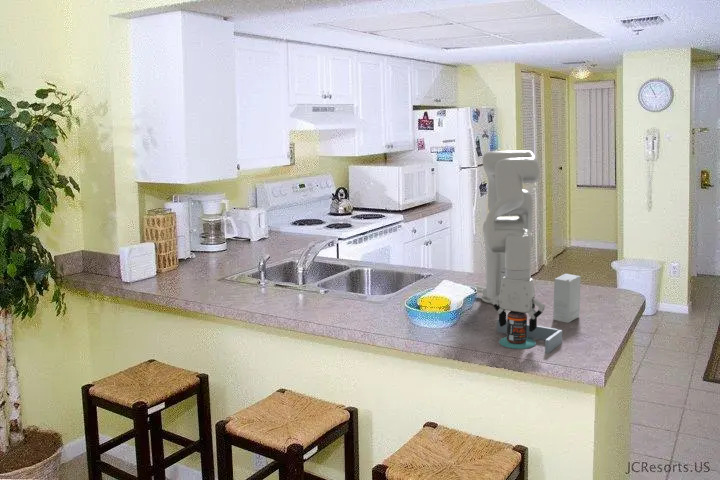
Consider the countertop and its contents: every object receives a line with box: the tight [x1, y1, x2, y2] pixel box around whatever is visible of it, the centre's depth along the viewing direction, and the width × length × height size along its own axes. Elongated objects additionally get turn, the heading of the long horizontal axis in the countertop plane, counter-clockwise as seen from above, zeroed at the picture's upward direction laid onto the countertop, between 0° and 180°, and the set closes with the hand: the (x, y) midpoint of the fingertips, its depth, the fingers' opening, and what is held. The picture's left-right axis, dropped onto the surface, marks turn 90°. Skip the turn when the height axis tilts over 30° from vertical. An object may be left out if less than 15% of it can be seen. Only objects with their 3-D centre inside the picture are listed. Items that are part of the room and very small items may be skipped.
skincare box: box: [552, 273, 582, 324], centre depth 233 cm, size 8×6×15 cm
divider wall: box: [496, 318, 563, 354], centre depth 213 cm, size 22×12×4 cm, turn 53°
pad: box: [498, 336, 537, 350], centre depth 212 cm, size 11×11×1 cm
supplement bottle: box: [506, 311, 528, 344], centre depth 212 cm, size 6×6×11 cm
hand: (517, 327), depth 211 cm, fingers open, 9 cm apart
